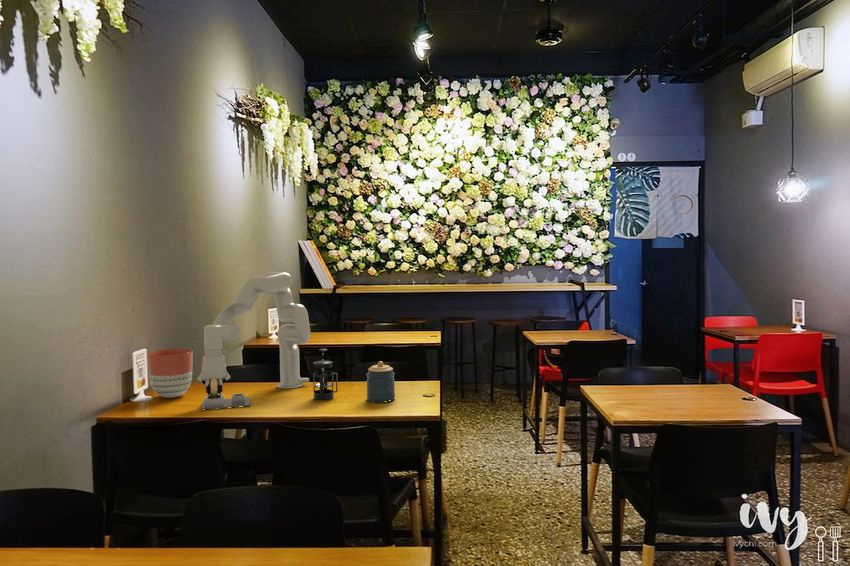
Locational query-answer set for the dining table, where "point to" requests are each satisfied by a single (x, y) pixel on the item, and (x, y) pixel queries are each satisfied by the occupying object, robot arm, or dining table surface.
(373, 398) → the canister
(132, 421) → the dining table surface
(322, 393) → the french press
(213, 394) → the tan cylinder
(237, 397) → the manifold
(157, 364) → the planter
